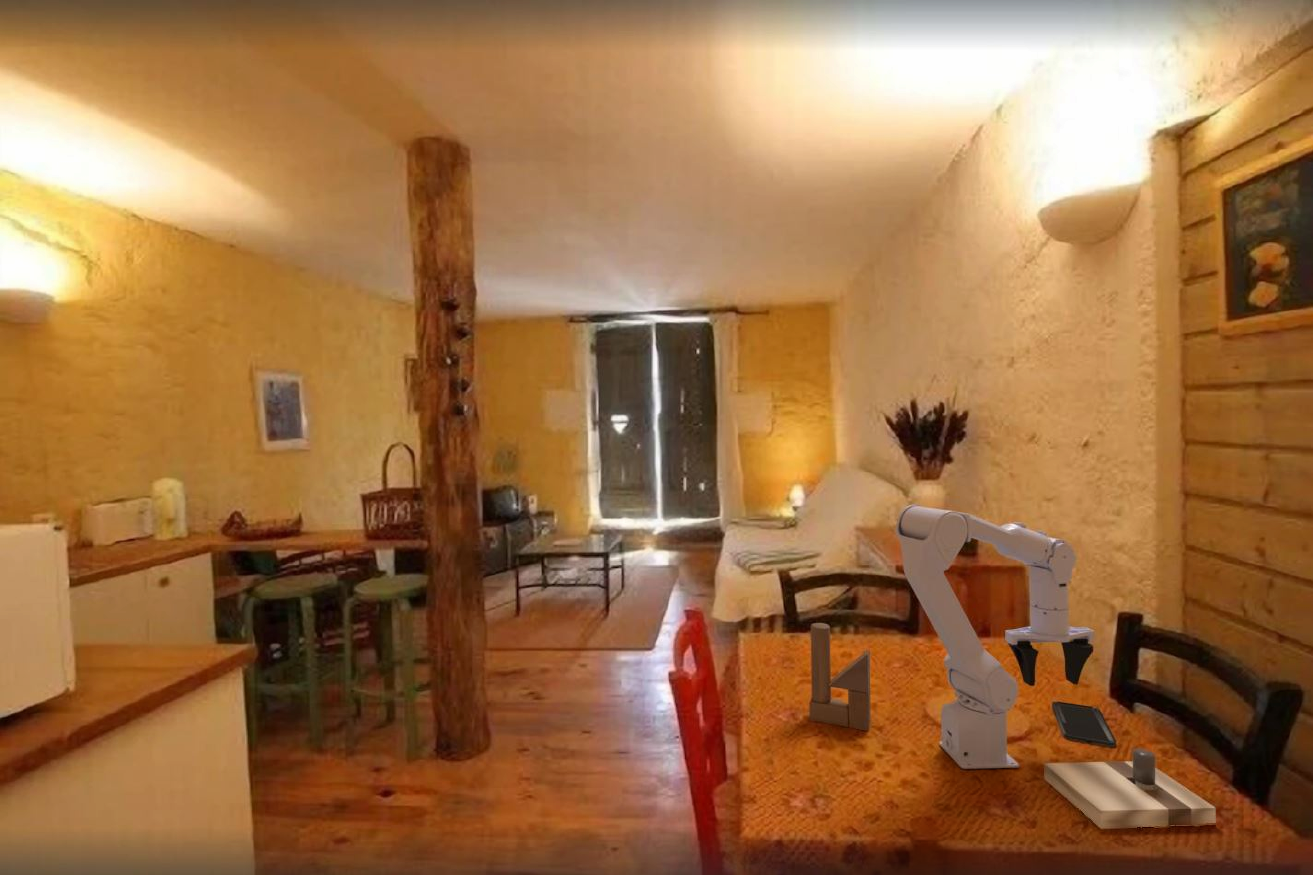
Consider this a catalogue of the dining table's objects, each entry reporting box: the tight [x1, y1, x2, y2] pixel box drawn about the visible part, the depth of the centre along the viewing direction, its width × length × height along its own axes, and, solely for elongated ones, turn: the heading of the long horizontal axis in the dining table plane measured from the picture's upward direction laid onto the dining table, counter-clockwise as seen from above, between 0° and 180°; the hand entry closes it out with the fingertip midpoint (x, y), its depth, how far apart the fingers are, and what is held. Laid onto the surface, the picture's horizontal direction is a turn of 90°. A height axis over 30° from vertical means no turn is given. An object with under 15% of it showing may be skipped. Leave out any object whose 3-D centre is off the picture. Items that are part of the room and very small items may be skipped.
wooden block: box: [808, 622, 872, 732], centre depth 116 cm, size 4×11×18 cm, turn 65°
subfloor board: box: [1043, 760, 1217, 830], centre depth 90 cm, size 16×12×2 cm
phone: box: [1051, 700, 1117, 748], centre depth 114 cm, size 8×1×15 cm
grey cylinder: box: [1132, 748, 1156, 790], centre depth 91 cm, size 3×3×7 cm
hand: (1050, 682), depth 107 cm, fingers open, 7 cm apart
